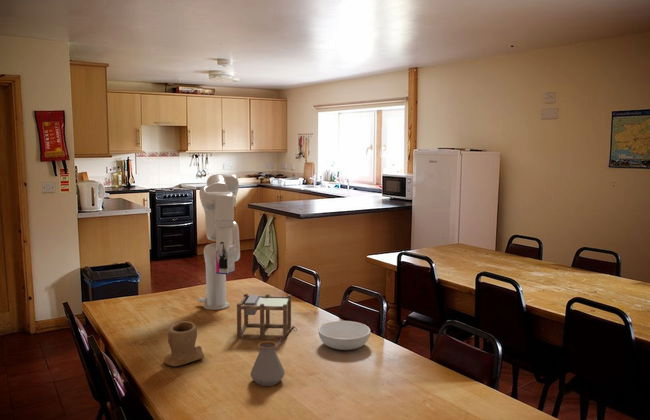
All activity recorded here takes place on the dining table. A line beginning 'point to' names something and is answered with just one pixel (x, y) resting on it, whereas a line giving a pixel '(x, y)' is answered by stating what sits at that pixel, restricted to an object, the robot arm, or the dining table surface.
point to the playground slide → (263, 302)
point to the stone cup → (183, 344)
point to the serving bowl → (344, 334)
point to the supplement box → (230, 262)
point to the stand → (285, 325)
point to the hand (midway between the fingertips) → (225, 266)
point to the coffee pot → (268, 363)
